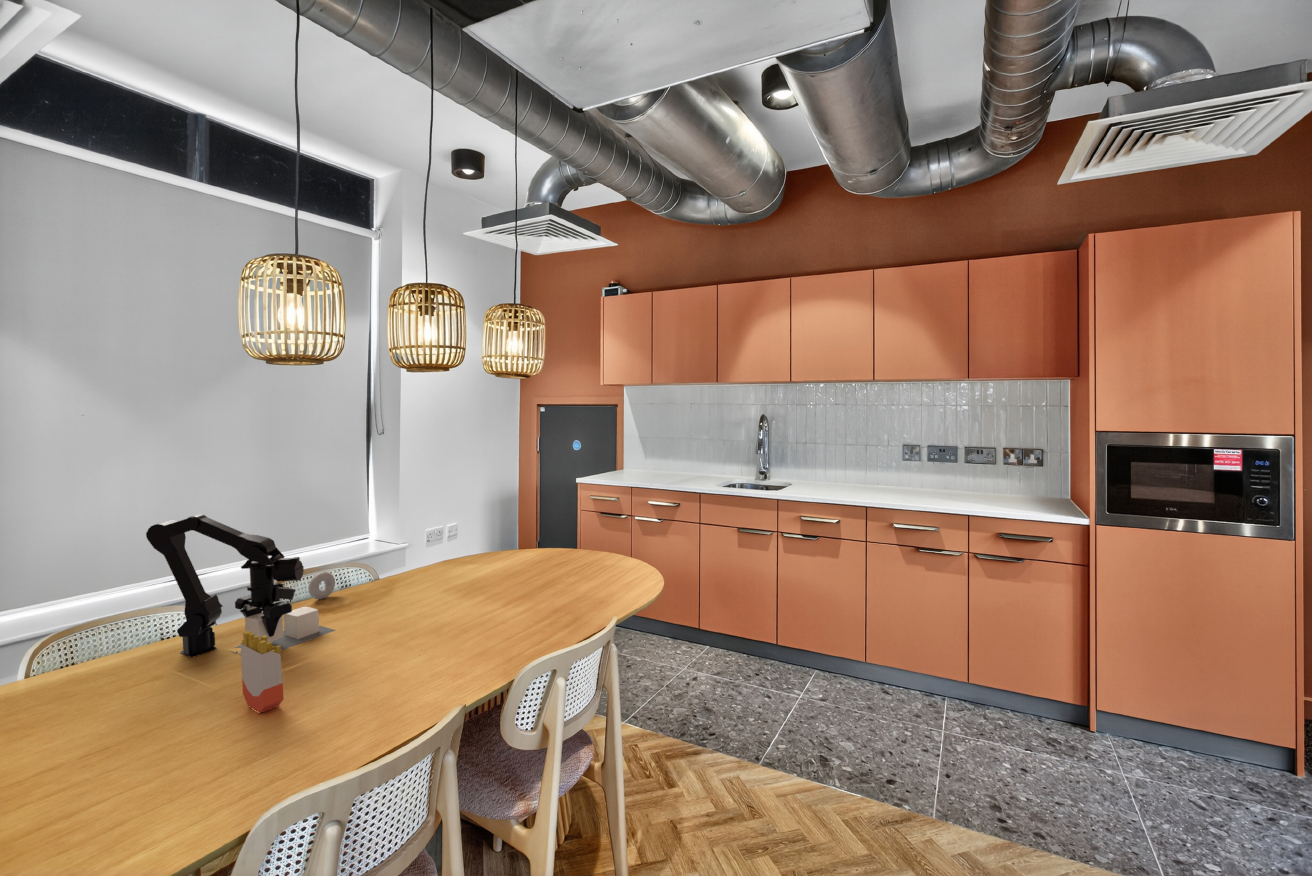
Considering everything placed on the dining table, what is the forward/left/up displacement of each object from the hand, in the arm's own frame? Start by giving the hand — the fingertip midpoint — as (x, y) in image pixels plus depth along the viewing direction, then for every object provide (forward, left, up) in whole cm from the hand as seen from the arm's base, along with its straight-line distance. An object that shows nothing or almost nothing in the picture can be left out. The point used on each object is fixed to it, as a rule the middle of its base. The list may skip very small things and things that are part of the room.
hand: (264, 634), depth 173 cm
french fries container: (-19, -35, -4) cm, 40 cm away
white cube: (0, 0, -2) cm, 2 cm away
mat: (+6, 0, -4) cm, 7 cm away
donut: (+35, +26, -4) cm, 43 cm away
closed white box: (+11, 0, -4) cm, 12 cm away
